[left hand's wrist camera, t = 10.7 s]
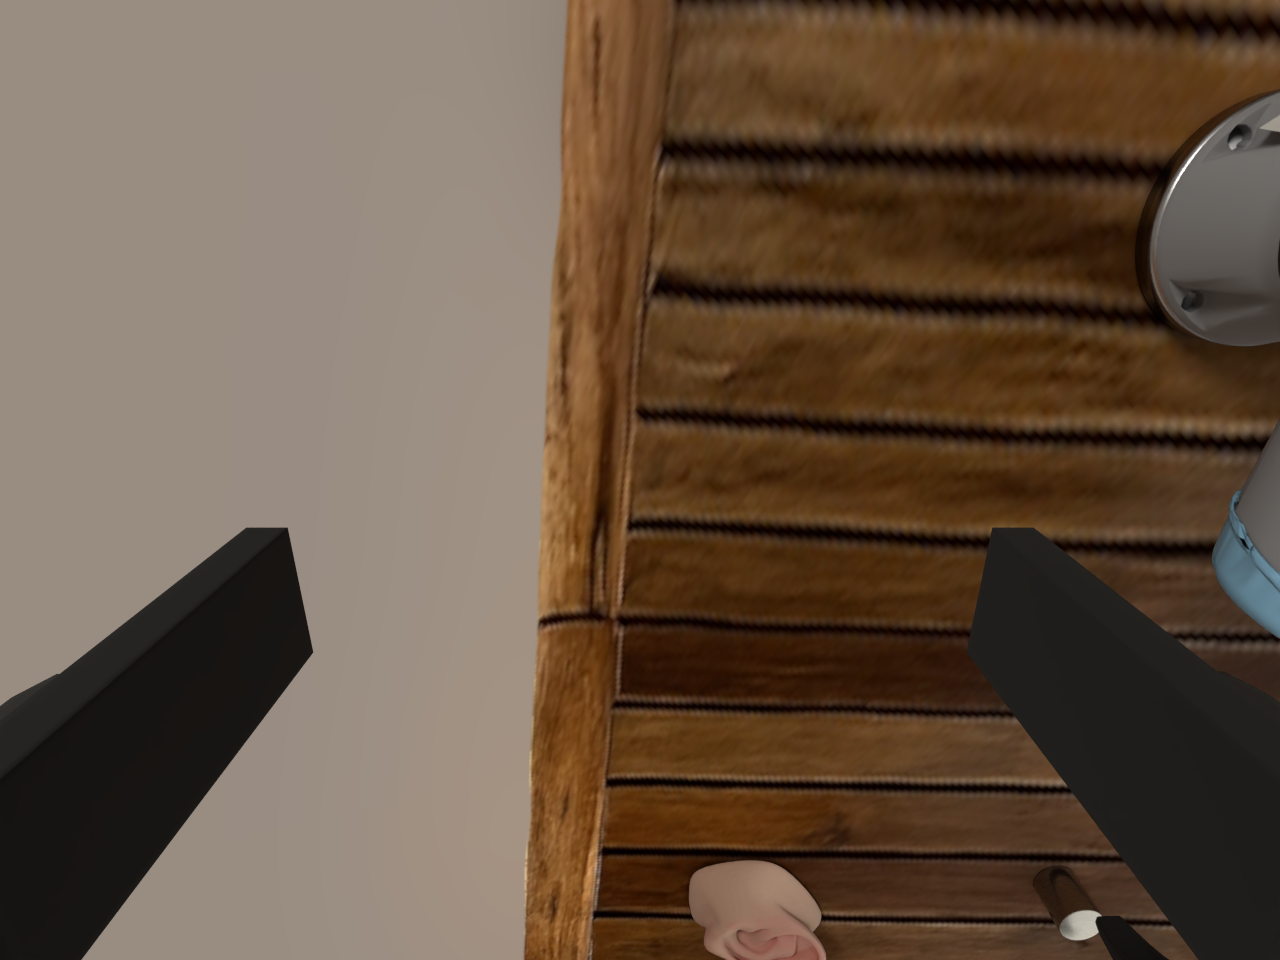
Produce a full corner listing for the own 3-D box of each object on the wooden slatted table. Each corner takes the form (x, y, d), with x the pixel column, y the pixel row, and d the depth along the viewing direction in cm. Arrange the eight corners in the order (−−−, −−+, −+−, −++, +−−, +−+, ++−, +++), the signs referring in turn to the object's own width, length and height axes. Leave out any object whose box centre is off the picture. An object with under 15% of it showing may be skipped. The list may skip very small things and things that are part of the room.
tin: (1072, 861, 64) (1102, 906, 60) (1076, 889, 66) (1105, 935, 61) (1031, 870, 65) (1057, 915, 61) (1035, 898, 66) (1061, 944, 62)
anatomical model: (669, 919, 61) (787, 877, 59) (667, 879, 65) (778, 838, 63) (730, 1005, 65) (842, 968, 63) (725, 963, 69) (831, 927, 67)
